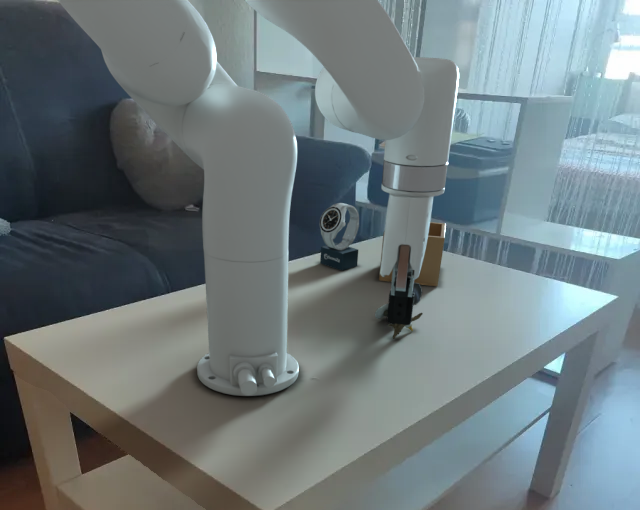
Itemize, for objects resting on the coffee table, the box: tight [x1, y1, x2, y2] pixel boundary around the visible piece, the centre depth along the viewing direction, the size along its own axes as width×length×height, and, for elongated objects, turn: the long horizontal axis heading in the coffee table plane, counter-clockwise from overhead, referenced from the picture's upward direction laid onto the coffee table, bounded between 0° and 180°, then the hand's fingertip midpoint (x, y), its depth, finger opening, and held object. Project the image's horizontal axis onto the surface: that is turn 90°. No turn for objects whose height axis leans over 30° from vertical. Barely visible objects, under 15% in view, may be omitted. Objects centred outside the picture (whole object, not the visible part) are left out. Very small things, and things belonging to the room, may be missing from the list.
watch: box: [319, 202, 360, 271], centre depth 116 cm, size 6×8×11 cm
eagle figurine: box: [374, 282, 424, 340], centre depth 92 cm, size 8×7×9 cm
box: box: [378, 221, 447, 287], centre depth 114 cm, size 10×10×8 cm
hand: (399, 321), depth 85 cm, fingers closed
